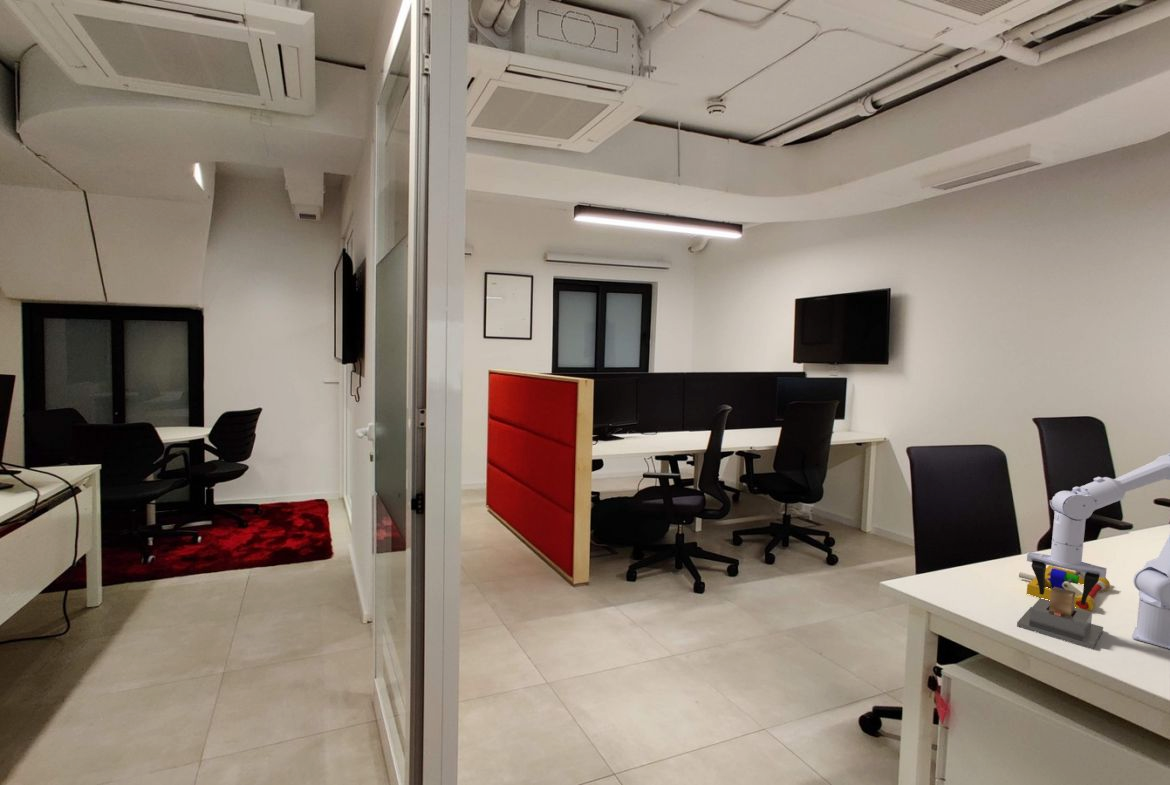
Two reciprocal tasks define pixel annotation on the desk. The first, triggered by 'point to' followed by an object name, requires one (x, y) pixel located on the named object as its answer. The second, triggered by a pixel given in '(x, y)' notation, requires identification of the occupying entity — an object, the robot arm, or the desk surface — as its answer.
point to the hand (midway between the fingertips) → (1062, 598)
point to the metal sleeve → (1062, 624)
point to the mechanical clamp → (1065, 585)
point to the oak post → (1062, 601)
